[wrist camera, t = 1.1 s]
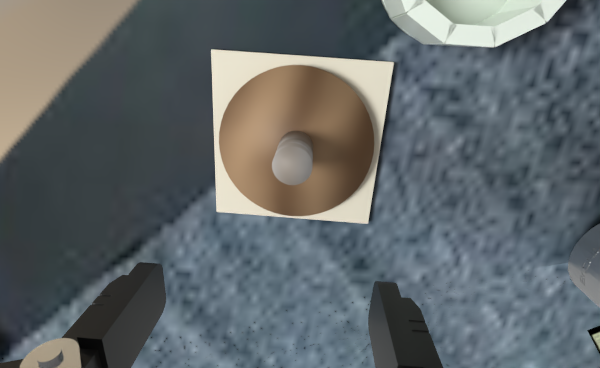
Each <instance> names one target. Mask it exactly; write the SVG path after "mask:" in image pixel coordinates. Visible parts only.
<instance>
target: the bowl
mask: <svg viewBox="0 0 600 368" xmlns="http://www.w3.org/2000/svg"><path fill="white" fill-rule="evenodd" d="M565 1H566V0H381V2H382V4H383V7H384V9H385V11H386V12H387V14H388V15H389V17H390V19H391V20H392V21H393V22H394V23H395V25H396V26H397V27H398V28H400V29H401V30H402V31H403V32H404V33H406V34H407V35H409V36H410V37H412V38H414V39H416V40H418V41H419V42H420V43H422V44H429V45H443V46H458V47H496V46H499V45H501V44H503V43H505V42H507V41H509V40H511V39H513V38H516V37H518V36H520V35H522V34H524V33H526V32H528V31H530V30H533V29H535V28H537V27H539V26H541V25H543V24H545V22H548V21H549V20H550V18H551V17H552V16H553V15H554V14H555V13H556V12H557V10H558V9H559V8H560V7H561V6H562V5H563V3H564V2H565Z"/></svg>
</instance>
